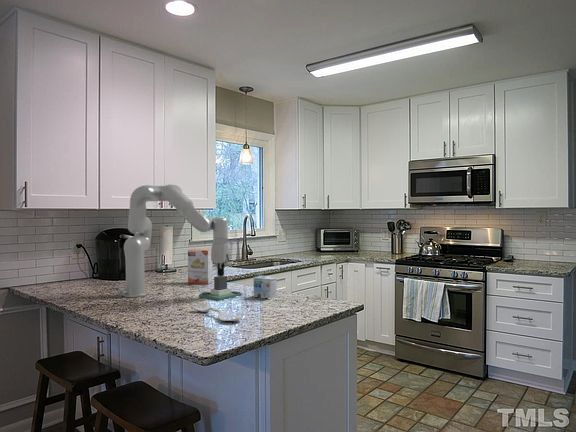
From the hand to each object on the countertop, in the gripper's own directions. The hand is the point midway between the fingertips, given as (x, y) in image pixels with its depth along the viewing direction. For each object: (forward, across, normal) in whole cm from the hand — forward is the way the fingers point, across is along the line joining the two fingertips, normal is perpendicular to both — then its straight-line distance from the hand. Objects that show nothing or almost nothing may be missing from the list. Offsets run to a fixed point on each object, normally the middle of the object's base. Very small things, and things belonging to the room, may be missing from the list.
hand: (220, 275), depth 231 cm
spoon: (+12, +29, -28) cm, 42 cm away
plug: (+10, 0, 0) cm, 10 cm away
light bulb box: (+11, +20, +13) cm, 26 cm away
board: (+11, 0, 0) cm, 11 cm away
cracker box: (+11, -38, +17) cm, 43 cm away
